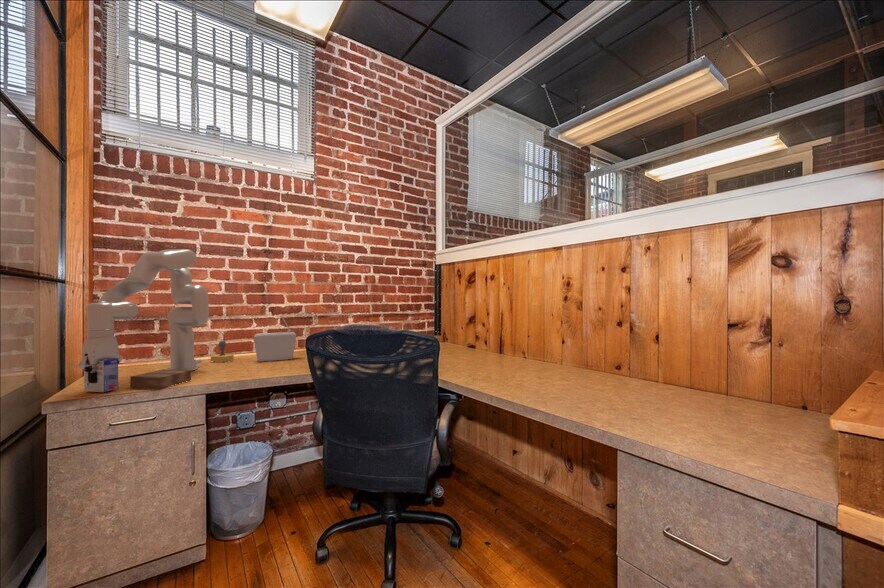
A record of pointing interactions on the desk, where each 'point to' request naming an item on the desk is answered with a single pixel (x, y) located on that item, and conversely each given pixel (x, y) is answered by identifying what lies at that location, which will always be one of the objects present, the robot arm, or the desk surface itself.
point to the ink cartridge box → (104, 376)
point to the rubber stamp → (222, 354)
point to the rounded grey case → (275, 345)
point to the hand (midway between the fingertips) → (101, 380)
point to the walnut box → (160, 379)
